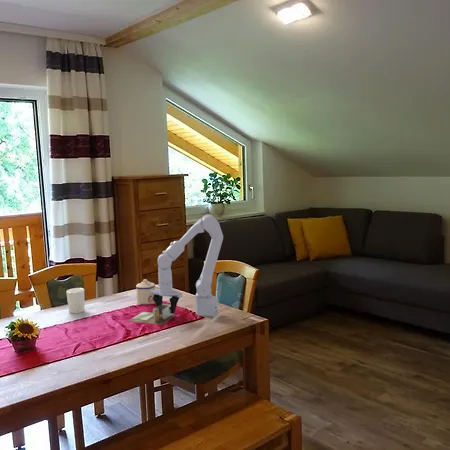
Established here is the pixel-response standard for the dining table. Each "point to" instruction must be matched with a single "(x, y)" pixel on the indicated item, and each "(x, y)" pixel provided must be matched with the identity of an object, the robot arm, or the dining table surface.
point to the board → (150, 318)
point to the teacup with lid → (145, 292)
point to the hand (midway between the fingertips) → (166, 312)
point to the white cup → (76, 300)
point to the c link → (163, 311)
